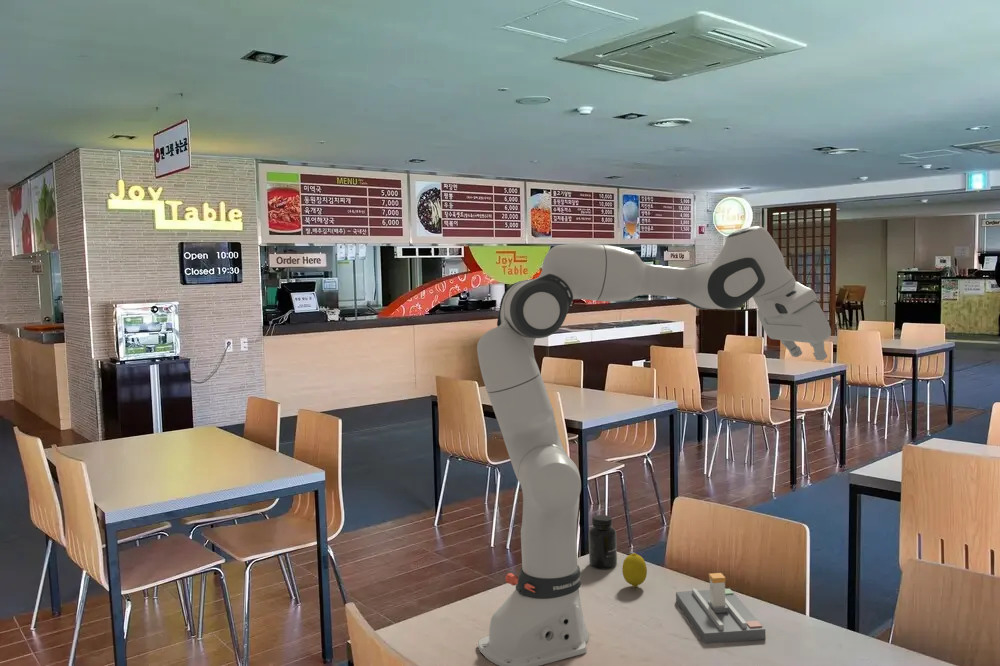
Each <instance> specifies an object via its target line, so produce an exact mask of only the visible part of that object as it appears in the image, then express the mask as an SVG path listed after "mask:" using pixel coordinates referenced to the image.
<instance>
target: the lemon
mask: <svg viewBox="0 0 1000 666" xmlns="http://www.w3.org/2000/svg"><path fill="white" fill-rule="evenodd" d="M622 563H623V564H622V568H621V569H622V575H623V579H624V581H626V583H628V584H629V585H631V586H632V587H634V588H637V587H638V586H640V585H642V584H643V583H644V582H645V580H646V578H647V574H648V569H647V564H646V561H645V559H644V558H643V557H642V556H641V555H639V554H637V553H636V552H632V553H631V554H628V555H627V556H626V557H625V558H624V560H623V562H622Z"/></svg>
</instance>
